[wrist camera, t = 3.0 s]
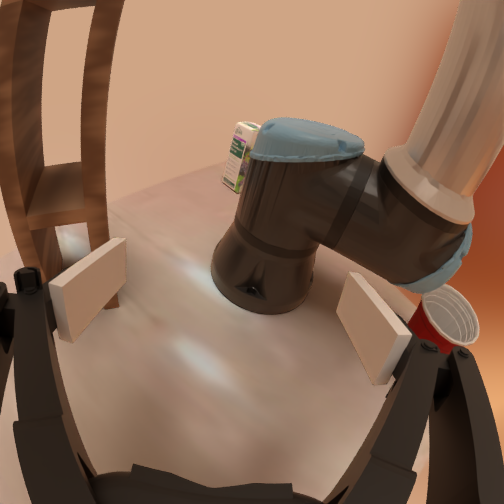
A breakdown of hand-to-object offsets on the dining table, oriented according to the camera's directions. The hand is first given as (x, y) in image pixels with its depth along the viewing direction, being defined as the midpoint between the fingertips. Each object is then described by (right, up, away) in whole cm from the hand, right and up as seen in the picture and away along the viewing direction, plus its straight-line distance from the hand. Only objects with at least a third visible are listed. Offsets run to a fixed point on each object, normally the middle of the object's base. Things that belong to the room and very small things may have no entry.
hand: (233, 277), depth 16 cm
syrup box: (-2, +16, +46) cm, 49 cm away
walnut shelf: (-22, -3, +16) cm, 28 cm away
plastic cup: (+24, -15, +20) cm, 35 cm away
